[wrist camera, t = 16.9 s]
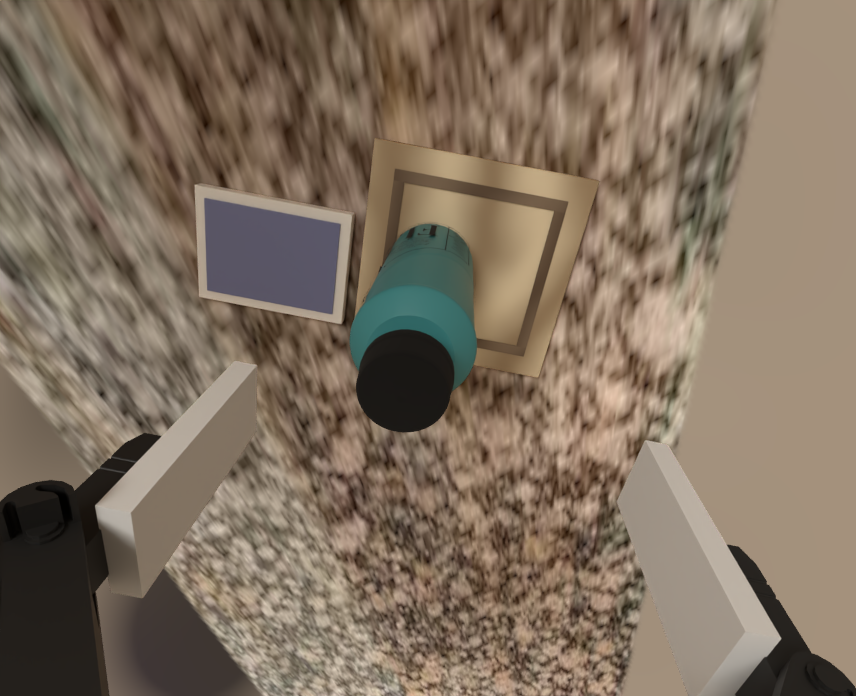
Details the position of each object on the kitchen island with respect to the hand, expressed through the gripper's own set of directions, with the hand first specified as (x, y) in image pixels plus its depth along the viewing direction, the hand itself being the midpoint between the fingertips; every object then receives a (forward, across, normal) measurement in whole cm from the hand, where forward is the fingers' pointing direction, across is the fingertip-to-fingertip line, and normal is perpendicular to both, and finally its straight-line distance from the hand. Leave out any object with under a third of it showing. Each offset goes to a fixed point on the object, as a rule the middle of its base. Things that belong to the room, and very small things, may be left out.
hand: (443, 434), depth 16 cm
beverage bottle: (+23, -2, -1) cm, 23 cm away
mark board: (+24, 0, -1) cm, 24 cm away
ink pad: (+24, -14, -3) cm, 28 cm away
